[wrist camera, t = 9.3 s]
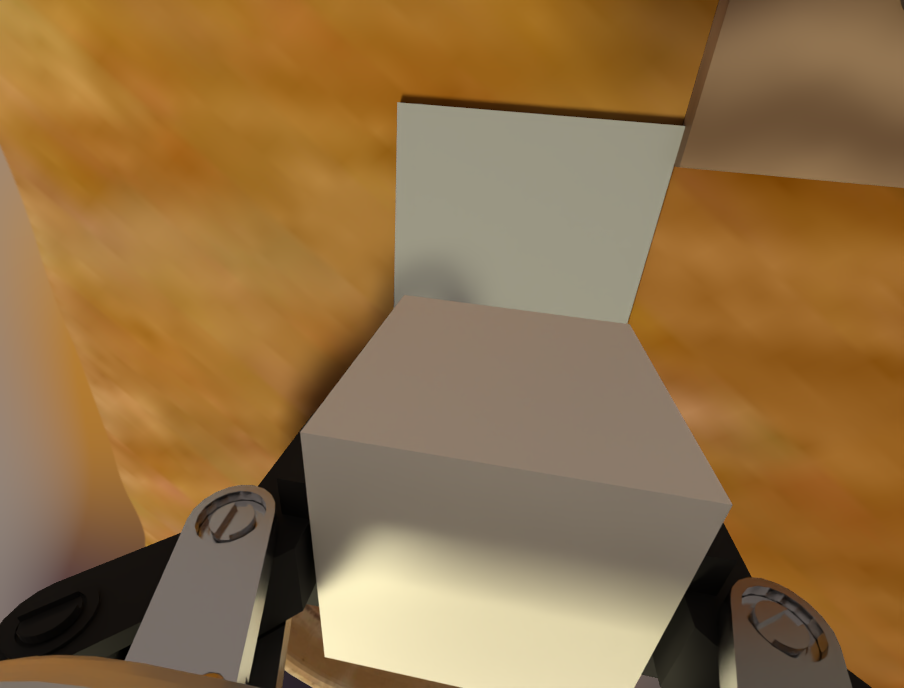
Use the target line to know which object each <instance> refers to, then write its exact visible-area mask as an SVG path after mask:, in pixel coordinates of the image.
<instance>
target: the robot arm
mask: <svg viewBox="0 0 904 688" xmlns="http://www.w3.org/2000/svg"><path fill="white" fill-rule="evenodd" d="M313 415H314V414H313ZM313 415H312V416H313ZM312 416H311V417H312ZM311 417H310V418H309V420H310V419H311ZM309 420H308V421H309ZM308 421H307V422H306V424H307V423H308ZM306 424H305V425H306ZM305 425H304V426H305ZM304 426H303V428H304ZM303 428H302V429H303ZM302 429H301V430H302ZM301 430H300V432H301ZM300 432H299V433H298V434H297V435H296V437H295V438H294V439H293V441H292V442H291V443H290V445H289V446H288V447H287V449H286V450H285V451H284V453H283V454H282V455H281V457H280V458H279V459H278V461H277V462H276V463H275V464H274V466H273V467H272V468H271V470H270V471H269V472H268V474H267V475H266V476H265V478H264V479H263V480H262V482H261V483H260V484H259V486H258V487H257V486H254V485H239V486H234V487H229V488H226V489H223V490H221V491H218V492H216V493H214V494H212V495H211V496H209V497H207V498H206V499H204V500H203V501H202V502H201V503H200V504H199V505H198V506H196V507H195V508H194V509H193V511H192V512H191V514H190V516H189V517H188V519H187V521H186V523H185V525H184V527H183V530H182V532H181V533H179V534H177V535H174V536H172V537H169V538H167V539H164V540H162V541H159V542H157V543H154V544H152V545H149V546H147V547H144V548H142V549H139V550H137V551H134V552H132V553H129V554H127V555H124V556H122V557H119V558H117V559H114V560H112V561H109V562H106V563H104V564H102V565H99V566H96V567H94V568H91V569H89V570H86V571H84V572H81V573H79V574H76V575H74V576H71V577H69V578H66V579H64V580H62V581H59V582H56V583H54V584H52V585H50V586H48V587H46V588H44V589H42V590H40V591H38V592H37V593H35V594H34V595H32V596H31V597H30V598H28V599H27V600H25V601H24V602H22V603H21V604H19V605H18V606H17V607H16V608H15V609H14V610H13V611H12V612H11V613H10V614H9V615H8V616H7V617H6V618H4V620H3V621H2V622H1V623H0V688H282V684H283V676H284V669H285V662H286V655H287V648H288V641H289V634H290V627H291V620H292V617H293V616H295V615H297V614H299V613H300V612H302V611H303V610H304V608H305V606H306V604H308V605H313V606H318V607H319V600H318V591H317V582H316V572H315V563H314V554H313V545H312V536H311V527H310V518H309V509H308V499H307V490H306V481H305V472H304V463H303V454H302V445H301V435H300ZM641 675H646V676H651V677H655V678H658V680H659V684H660V687H661V688H871V687H870V686H869V685H867V684H866V683H865V682H863V681H862V680H861V679H860V678H858V677H857V676H856V675H854V674H853V673H852V672H850V671H849V670H848V669H847V668H846V664H845V661H844V657H843V654H842V650H841V647H840V645H839V643H838V640H837V638H836V636H835V634H834V632H833V630H832V629H831V628H830V626H829V625H828V624H827V622H826V621H825V620H824V618H823V617H822V616H821V615H820V614H819V613H818V612H817V611H816V610H815V609H814V608H813V607H812V606H811V605H810V604H809V603H808V602H806V601H805V600H803V599H802V598H801V597H799V596H798V595H796V594H795V593H794V592H792V591H791V590H789V589H787V588H785V587H783V586H781V585H779V584H777V583H775V582H772V581H768V580H765V579H762V578H752V577H751V575H750V573H749V571H748V569H747V567H746V565H745V564H744V562H743V560H742V558H741V556H740V554H739V552H738V550H737V548H736V546H735V544H734V542H733V540H732V539H731V537H730V535H729V533H728V531H727V529H726V527H725V525H724V523H722V525H721V527H720V529H719V531H718V533H717V535H716V536H715V538H714V540H713V542H712V544H711V546H710V548H709V549H708V551H707V553H706V555H705V557H704V559H703V561H702V562H701V564H700V566H699V568H698V570H697V572H696V574H695V575H694V577H693V579H692V581H691V583H690V585H689V587H688V588H687V590H686V592H685V594H684V596H683V598H682V600H681V601H680V603H679V605H678V607H677V609H676V611H675V613H674V614H673V616H672V618H671V620H670V622H669V624H668V626H667V627H666V629H665V631H664V633H663V635H662V637H661V639H660V640H659V642H658V644H657V646H656V648H655V650H654V652H653V653H652V655H651V657H650V659H649V661H648V663H647V665H646V666H645V668H644V670H643V672H642V674H641Z"/></svg>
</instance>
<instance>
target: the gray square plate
mask: <svg viewBox="0 0 904 688" xmlns="http://www.w3.org/2000/svg"><path fill="white" fill-rule="evenodd" d="M684 129H685V126H679V125H667V124H654V123H642V122H630V121H618V120H606V119H594V118H582V117H569V116H557V115H545V114H533V113H521V112H509V111H496V110H484V109H472V108H460V107H448V106H436V105H424V104H411V103H399V102H398V103H397V161H396V219H395V277H394V308H395V306H396V305H397V304H398V302H399V301H400V300H401V298H402V297H403V296H404V295H409V296H416V297H424V298H432V299H440V300H447V301H455V302H463V303H470V304H478V305H486V306H493V307H501V308H509V309H517V310H524V311H532V312H540V313H547V314H555V315H563V316H570V317H578V318H586V319H594V320H601V321H609V322H617V323H624V324H627V323H628V319H629V316H630V312H631V309H632V306H633V302H634V299H635V295H636V292H637V289H638V285H639V282H640V279H641V275H642V272H643V268H644V265H645V262H646V258H647V255H648V251H649V248H650V245H651V241H652V238H653V234H654V231H655V228H656V224H657V221H658V218H659V214H660V211H661V207H662V204H663V201H664V197H665V194H666V190H667V187H668V184H669V180H670V177H671V173H672V170H673V167H674V163H675V160H676V156H677V153H678V150H679V146H680V143H681V140H682V136H683V133H684Z"/></svg>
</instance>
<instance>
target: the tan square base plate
mask: <svg viewBox="0 0 904 688" xmlns="http://www.w3.org/2000/svg"><path fill="white" fill-rule="evenodd" d="M683 126H685V129H684V133H683V136H682V140H681V143H680V146H679V150H678V153H677V156H676V160H675V163H674V166H676V167H683V168H694V169H704V170H715V171H726V172H737V173H748V174H759V175H769V176H780V177H791V178H802V179H813V180H824V181H834V182H845V183H856V184H867V185H878V186H889V187H900V188H904V0H719V3H718V6H717V9H716V13H715V16H714V20H713V23H712V27H711V30H710V33H709V37H708V40H707V44H706V47H705V51H704V54H703V57H702V61H701V64H700V68H699V71H698V75H697V78H696V81H695V85H694V88H693V92H692V95H691V98H690V102H689V105H688V109H687V112H686V116H685V119H684V122H683Z"/></svg>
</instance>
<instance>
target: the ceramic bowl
mask: <svg viewBox="0 0 904 688" xmlns="http://www.w3.org/2000/svg"><path fill="white" fill-rule="evenodd" d="M284 670H285V671H287V672H288V673H290V674H291V675H293V676H294V677H296V678H298V679H299V680H301V681H303V682H304V683H306V684H308V685H309V686H311V687H313V688H461V687H457V686H452V685H448V684H443V683H439V682H434V681H430V680H426V679H421V678H417V677H412V676H408V675H403V674H399V673H394V672H390V671H385V670H381V669H376V668H372V667H367V666H363V665H358V664H354V663H349V662H345V661H341V660H336V659H332V658H327V657H325V655H324V646H323V636H322V627H321V618H320V609H319V607H318V606H313V605H308V604H306V606H305V608H304V610H303V611H302V612H300V613H299V614H297V615H295V616H293V617H292V620H291V627H290V634H289V641H288V648H287V655H286V662H285V669H284Z"/></svg>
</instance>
